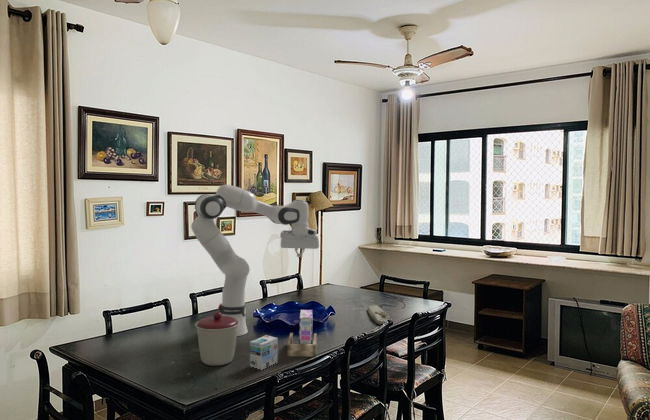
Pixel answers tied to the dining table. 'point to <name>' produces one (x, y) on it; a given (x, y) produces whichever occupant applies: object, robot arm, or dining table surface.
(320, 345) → the dining table surface
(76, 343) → the dining table surface
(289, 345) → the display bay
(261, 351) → the light bulb box
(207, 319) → the canister
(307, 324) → the candy box
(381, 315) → the elongated rock
